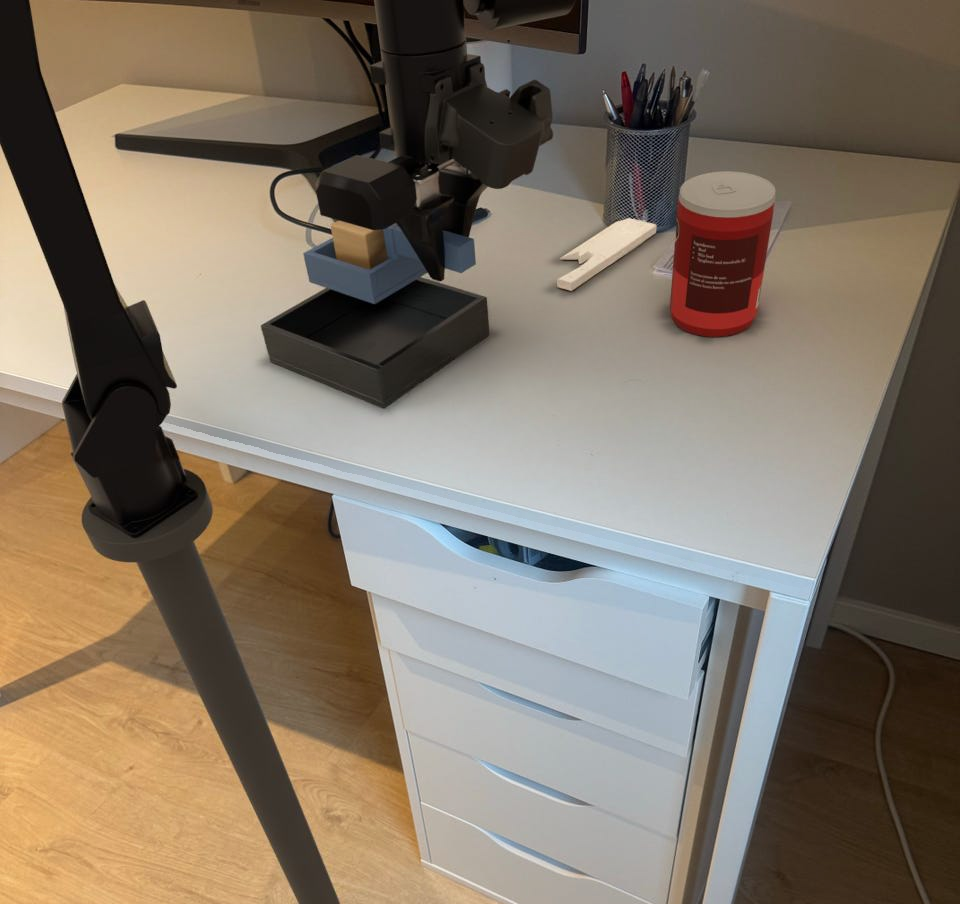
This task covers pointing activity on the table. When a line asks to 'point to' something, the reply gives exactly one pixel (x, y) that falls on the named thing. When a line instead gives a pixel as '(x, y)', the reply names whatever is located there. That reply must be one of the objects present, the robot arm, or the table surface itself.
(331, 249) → the scoop
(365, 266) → the block
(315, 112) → the table surface
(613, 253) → the white plastic blade
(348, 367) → the black square tray
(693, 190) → the canned food
